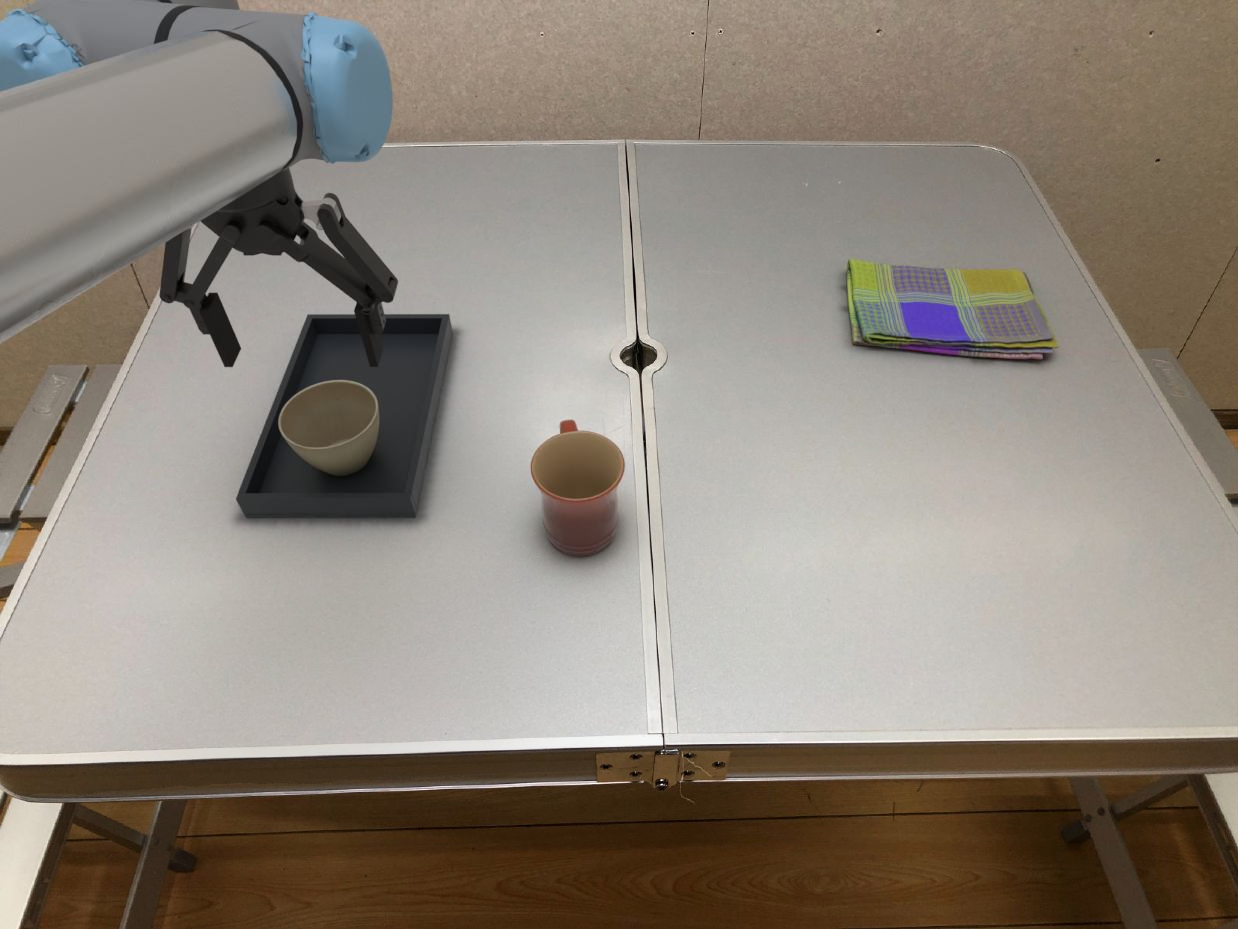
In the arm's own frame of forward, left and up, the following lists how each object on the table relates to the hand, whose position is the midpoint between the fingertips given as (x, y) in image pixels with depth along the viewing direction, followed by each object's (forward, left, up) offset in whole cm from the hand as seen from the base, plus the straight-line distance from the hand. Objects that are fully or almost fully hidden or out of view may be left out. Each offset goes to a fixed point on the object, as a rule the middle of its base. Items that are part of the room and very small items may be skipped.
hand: (305, 358), depth 79 cm
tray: (+5, +6, -16) cm, 18 cm away
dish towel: (+72, -26, -16) cm, 78 cm away
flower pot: (0, +1, -15) cm, 15 cm away
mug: (+15, -22, -16) cm, 31 cm away
